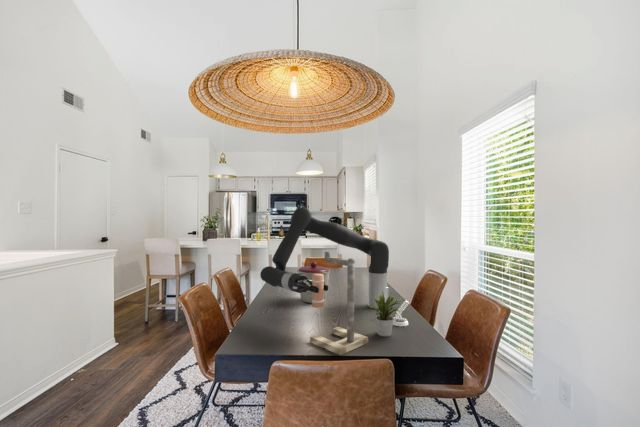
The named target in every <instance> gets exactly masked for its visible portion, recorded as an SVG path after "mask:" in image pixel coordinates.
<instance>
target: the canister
mask: <svg viewBox="0 0 640 427" xmlns="http://www.w3.org/2000/svg"><path fill="white" fill-rule="evenodd" d="M309 264H310V265H305V266H301V267H299V268H298V269H297V270H296V273H298V274H303V275H305V276H306V277H307V279H310V280H312V275H313V274H323V275H324V284H326V285H328V286H329V276H330V272H331V269H329V268H328V267H326V266H323V265H321V266H319V265H318V263H317V261H311V262H310V263H309ZM327 294H328V291H325V290H324V301H325V300H326V298H327ZM299 295H300V296H299V297H300V299H301V300H302V301H303V302H304V303H306V304H312V292H302V293H299Z"/></svg>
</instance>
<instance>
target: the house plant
mask: <svg viewBox="0 0 640 427" xmlns="http://www.w3.org/2000/svg"><path fill="white" fill-rule="evenodd" d="M392 294H393V293H392V292H391V293H390V294H388V298H387V300H386V302H385V298H384V294H383V291H382V296H381V294H380V293H379V300H376V299H375V298H374V297H372V298H373V299H374V301H375V302H376V303H377V304H376V305H377V306H378V308H379V309H377V308H375V307H374V306H368V307H369V308H371V309H374V310H375V311H376V313H375V315H376V316H374V320H375V324H376V332H377V335H378V336H380V337H390V336H391V335H392V330H393V327H394V325H393V320H394V317H393V316H392V314H396V315H397V313H396V312H397V311H400V310H398V309H399V308H401V307H400V306H398V307H394V306H395V305H397V304H400V302H399V301H401V298H399V299H398V298H397V299H396V300H395V299H394V298H395V297H396V294H395V295H392ZM396 315H395V316H396Z"/></svg>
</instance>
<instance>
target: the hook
mask: <svg viewBox="0 0 640 427" xmlns="http://www.w3.org/2000/svg"><path fill="white" fill-rule="evenodd" d="M409 304H410V302H409V301H408V300H405V301H404V302H402V303H401V305H400V306H399V307H401V308H399V307H398V310H400V311H395V312H396V313H397V315H396V314H395V313H394V314H395V315H394V316H395V317H393V318H394V320H393V326H395V327H407V326H409V321H408V319H407V318H405V317H403V316H402V313H403V312H404V311H405V310H406V308H407V307H408V306H409Z"/></svg>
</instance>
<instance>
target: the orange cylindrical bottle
mask: <svg viewBox="0 0 640 427" xmlns="http://www.w3.org/2000/svg"><path fill="white" fill-rule="evenodd" d="M312 286H316V287H319V293H315V292H312V303H311V307H312V308H316V309H317V308H318V309H320V308H324V306H325V305H324V303H325V302H324V301H325V300H324V275H323V274H313V275H312Z"/></svg>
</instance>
